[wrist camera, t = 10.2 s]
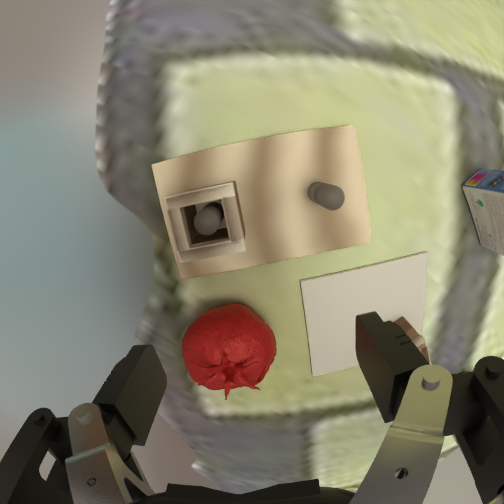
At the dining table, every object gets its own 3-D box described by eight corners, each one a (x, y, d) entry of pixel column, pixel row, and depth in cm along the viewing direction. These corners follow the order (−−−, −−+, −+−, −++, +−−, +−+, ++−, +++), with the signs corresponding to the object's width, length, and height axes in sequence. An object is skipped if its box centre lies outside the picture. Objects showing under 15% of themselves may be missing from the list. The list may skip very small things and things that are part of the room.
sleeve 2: (403, 314, 31) (425, 340, 25) (411, 341, 32) (431, 366, 26) (368, 336, 31) (386, 365, 26) (379, 361, 33) (396, 389, 27)
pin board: (350, 126, 25) (376, 117, 19) (367, 239, 28) (393, 257, 22) (155, 164, 26) (130, 164, 20) (184, 275, 29) (168, 301, 23)
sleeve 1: (236, 179, 25) (232, 182, 20) (246, 233, 27) (245, 251, 21) (182, 190, 26) (163, 197, 20) (194, 242, 27) (180, 263, 21)
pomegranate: (174, 317, 31) (148, 366, 22) (248, 279, 30) (244, 324, 21) (219, 375, 34) (210, 429, 25) (289, 345, 32) (298, 400, 23)
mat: (425, 251, 29) (427, 252, 28) (418, 344, 33) (420, 345, 32) (300, 280, 30) (300, 281, 29) (312, 375, 34) (312, 376, 33)
